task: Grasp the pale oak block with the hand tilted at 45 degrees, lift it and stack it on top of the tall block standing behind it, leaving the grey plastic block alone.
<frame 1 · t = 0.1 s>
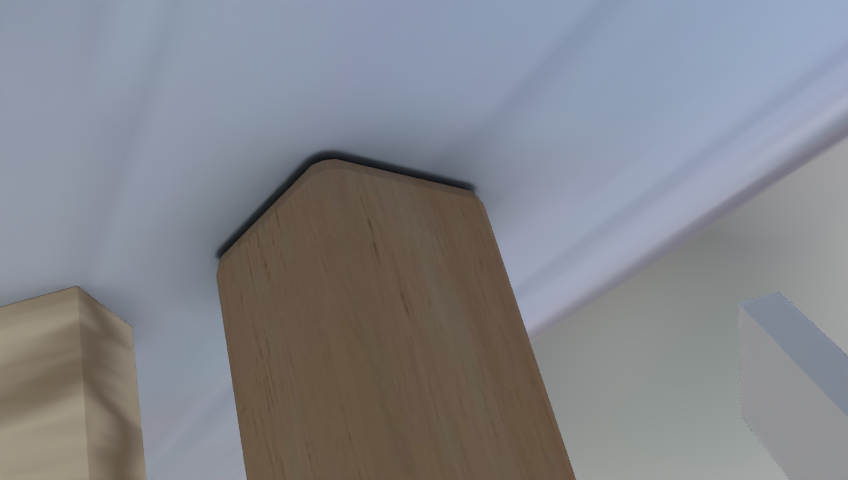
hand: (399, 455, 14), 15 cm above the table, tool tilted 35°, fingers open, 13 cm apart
block: (346, 219, 38), on the table
oak block: (48, 324, 39), on the table
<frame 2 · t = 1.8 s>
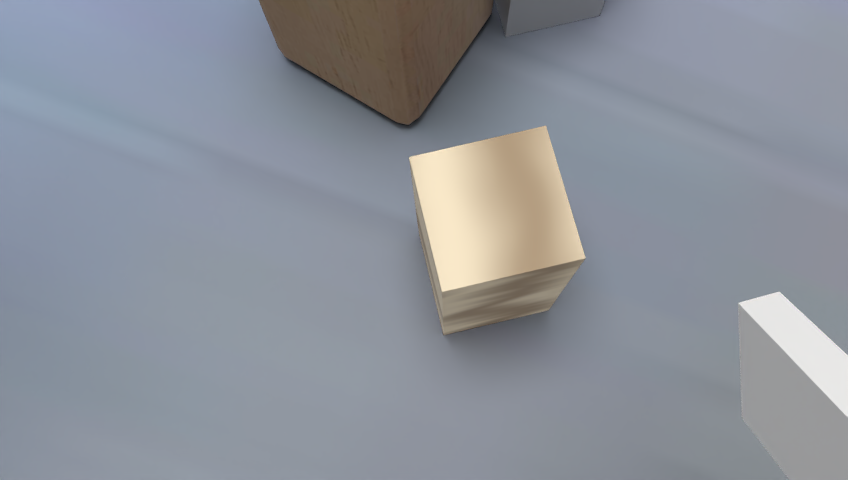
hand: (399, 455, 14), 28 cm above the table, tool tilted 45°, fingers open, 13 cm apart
block: (387, 35, 48), on the table
oak block: (482, 271, 44), on the table
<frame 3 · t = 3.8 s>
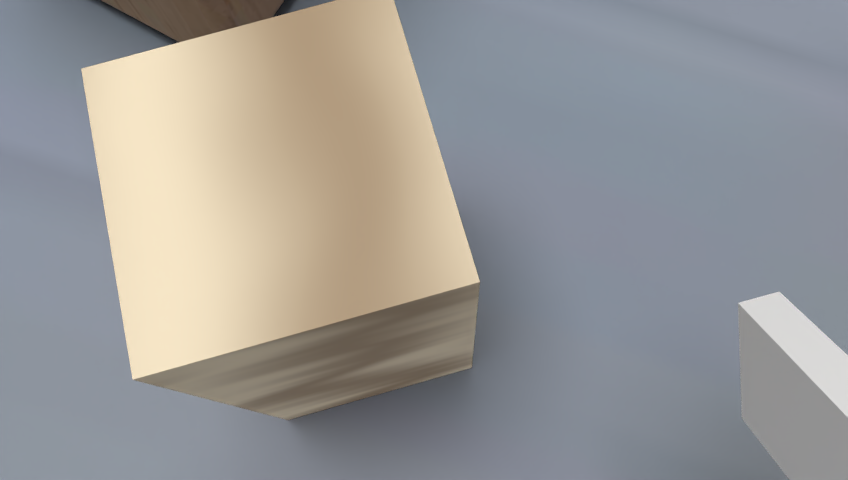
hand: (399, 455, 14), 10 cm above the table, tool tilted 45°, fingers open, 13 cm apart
oak block: (357, 303, 25), on the table
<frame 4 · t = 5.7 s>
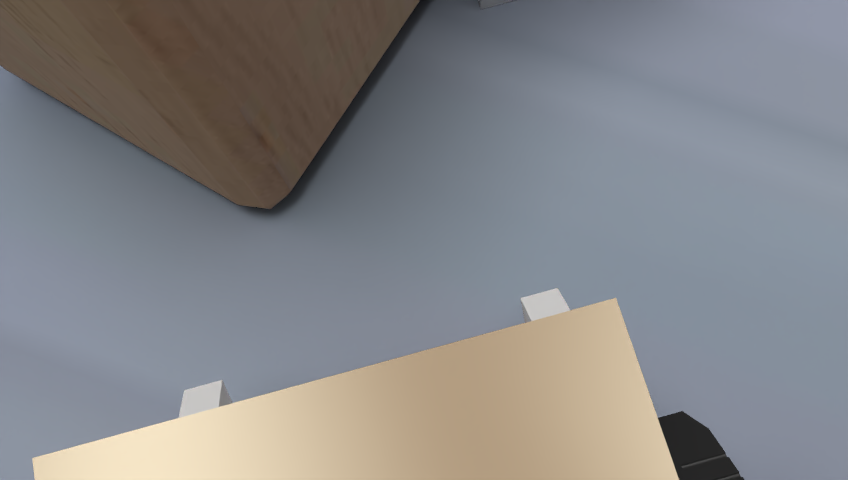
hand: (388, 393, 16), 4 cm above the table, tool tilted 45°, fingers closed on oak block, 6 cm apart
block: (235, 16, 23), on the table
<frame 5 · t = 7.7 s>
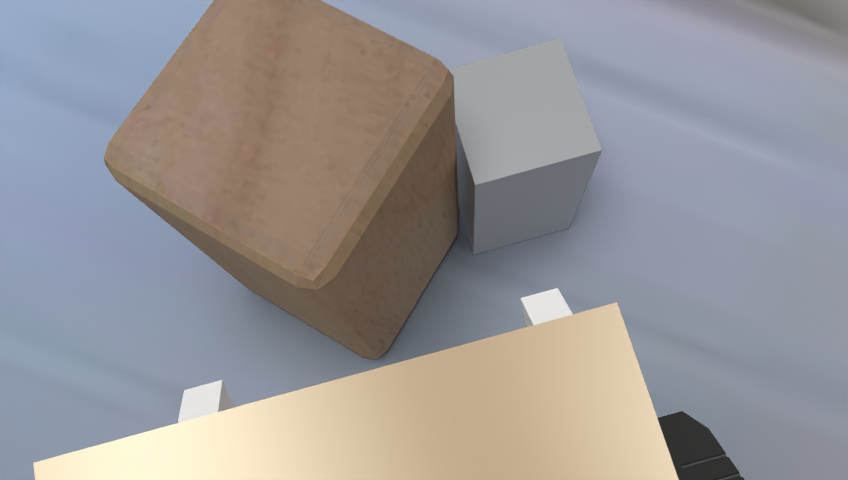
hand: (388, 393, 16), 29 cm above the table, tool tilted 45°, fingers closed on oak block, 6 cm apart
block: (353, 255, 47), on the table
grey block: (506, 196, 48), on the table
when the fingers open (25 cm above the table, at t = 9.7 s): oak block drops 1 cm, resting on block.
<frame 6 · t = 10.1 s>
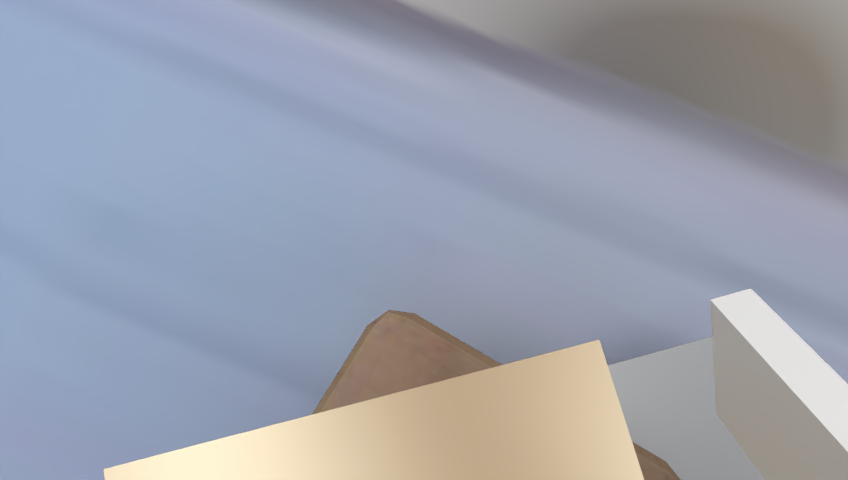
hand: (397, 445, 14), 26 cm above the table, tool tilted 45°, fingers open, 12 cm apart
grey block: (639, 438, 39), on the table
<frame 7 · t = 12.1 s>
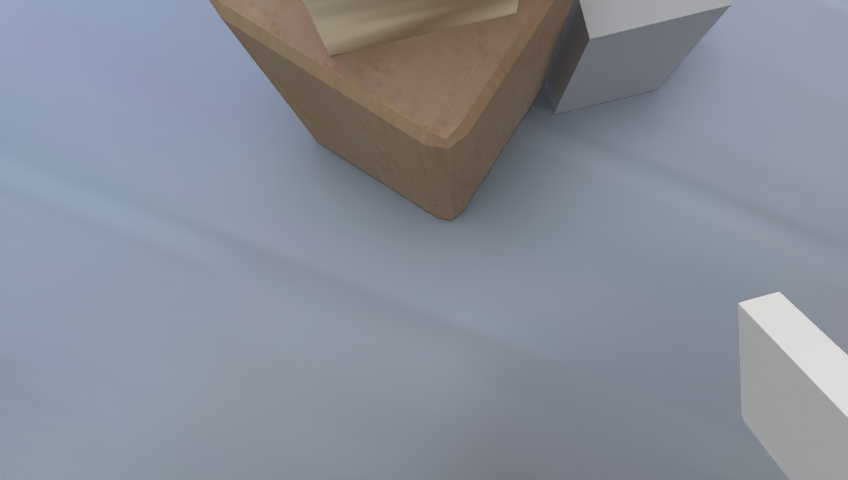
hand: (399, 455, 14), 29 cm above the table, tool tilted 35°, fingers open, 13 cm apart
block: (426, 110, 45), on the table, touching oak block
grey block: (591, 52, 45), on the table
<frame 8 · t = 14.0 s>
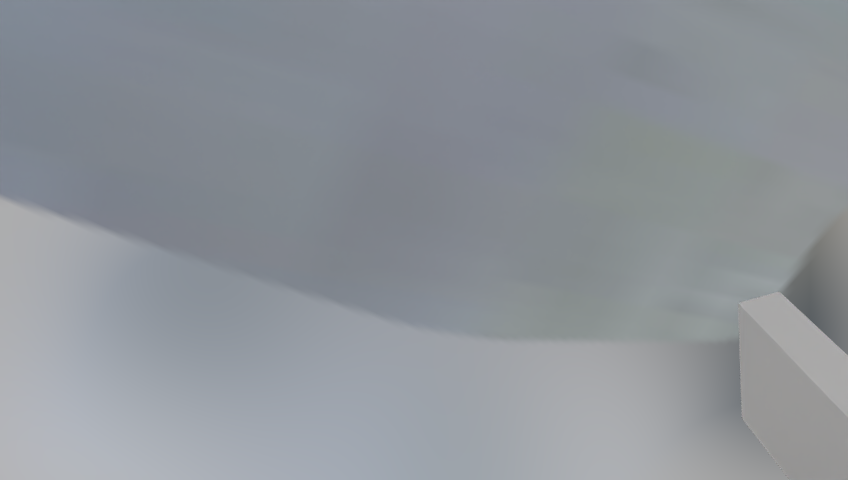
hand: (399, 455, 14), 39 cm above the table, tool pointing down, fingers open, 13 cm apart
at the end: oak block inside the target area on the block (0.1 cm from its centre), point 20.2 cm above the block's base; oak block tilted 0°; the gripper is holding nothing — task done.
